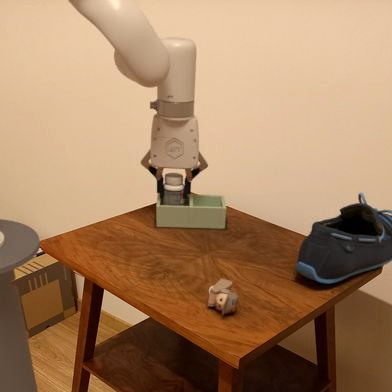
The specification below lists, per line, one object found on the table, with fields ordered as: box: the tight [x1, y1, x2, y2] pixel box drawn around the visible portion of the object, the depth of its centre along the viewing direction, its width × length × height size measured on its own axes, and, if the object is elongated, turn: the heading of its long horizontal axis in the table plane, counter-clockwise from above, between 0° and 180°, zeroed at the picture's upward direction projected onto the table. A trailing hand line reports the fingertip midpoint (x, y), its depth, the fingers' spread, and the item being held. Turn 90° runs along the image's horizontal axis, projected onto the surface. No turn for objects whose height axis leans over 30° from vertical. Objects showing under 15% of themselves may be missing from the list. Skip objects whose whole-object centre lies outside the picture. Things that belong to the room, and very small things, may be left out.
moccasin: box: [294, 192, 392, 285], centre depth 101 cm, size 14×34×12 cm, turn 142°
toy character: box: [207, 278, 240, 316], centre depth 87 cm, size 4×8×6 cm
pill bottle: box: [163, 172, 185, 206], centre depth 114 cm, size 5×5×8 cm
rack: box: [155, 193, 227, 230], centre depth 117 cm, size 15×8×5 cm, turn 91°
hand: (173, 196), depth 115 cm, fingers closed on pill bottle, 4 cm apart
